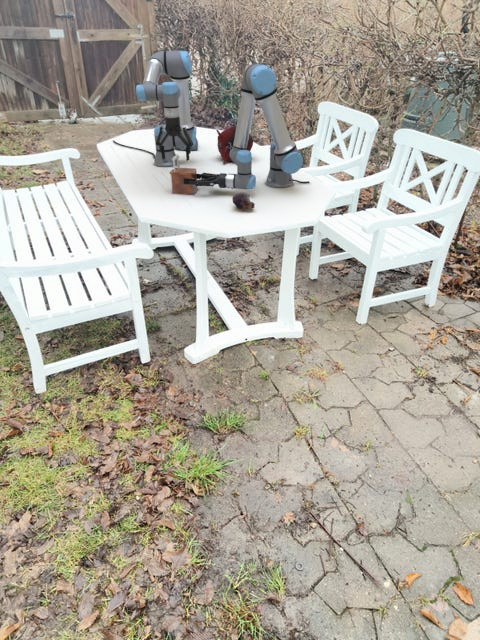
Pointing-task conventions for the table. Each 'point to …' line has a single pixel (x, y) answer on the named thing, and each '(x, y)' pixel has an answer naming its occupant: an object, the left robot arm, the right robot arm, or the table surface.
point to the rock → (242, 201)
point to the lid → (181, 170)
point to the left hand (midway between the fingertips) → (175, 159)
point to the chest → (179, 184)
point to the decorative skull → (229, 142)
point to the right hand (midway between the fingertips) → (186, 178)
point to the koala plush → (190, 147)
